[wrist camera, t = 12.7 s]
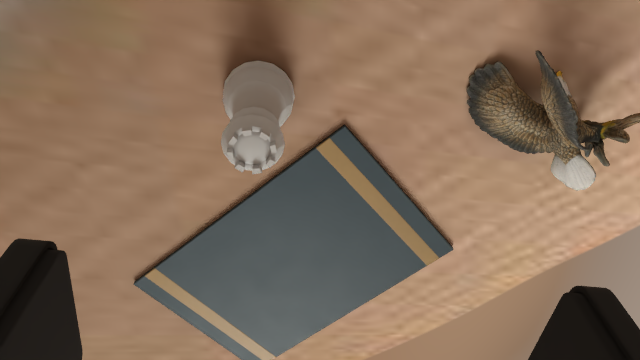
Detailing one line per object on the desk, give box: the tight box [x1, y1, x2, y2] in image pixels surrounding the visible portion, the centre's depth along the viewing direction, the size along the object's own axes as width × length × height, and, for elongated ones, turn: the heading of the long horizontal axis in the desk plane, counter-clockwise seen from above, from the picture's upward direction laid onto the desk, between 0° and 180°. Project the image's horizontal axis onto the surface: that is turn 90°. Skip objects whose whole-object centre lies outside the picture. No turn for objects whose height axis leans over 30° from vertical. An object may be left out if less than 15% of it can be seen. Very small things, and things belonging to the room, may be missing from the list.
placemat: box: [134, 125, 453, 360], centre depth 40 cm, size 21×14×1 cm, turn 129°
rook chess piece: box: [221, 61, 295, 174], centre depth 29 cm, size 4×4×8 cm
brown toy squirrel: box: [467, 51, 640, 191], centre depth 31 cm, size 8×7×9 cm
